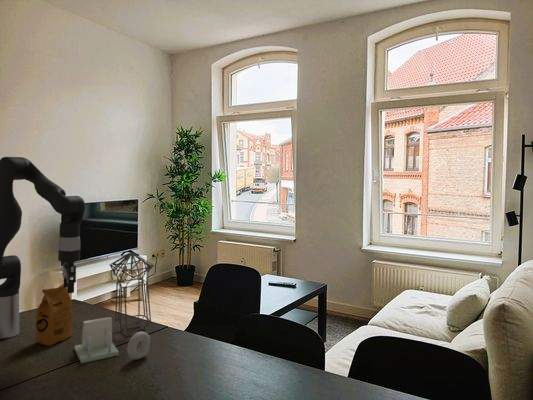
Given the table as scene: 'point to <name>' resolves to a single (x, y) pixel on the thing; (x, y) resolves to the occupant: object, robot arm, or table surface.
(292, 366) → the table surface
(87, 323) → the off-white rectangular prism
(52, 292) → the coffee package
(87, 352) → the dish rack
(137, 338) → the donut
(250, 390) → the table surface
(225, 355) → the table surface
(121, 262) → the geometric lantern
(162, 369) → the table surface
